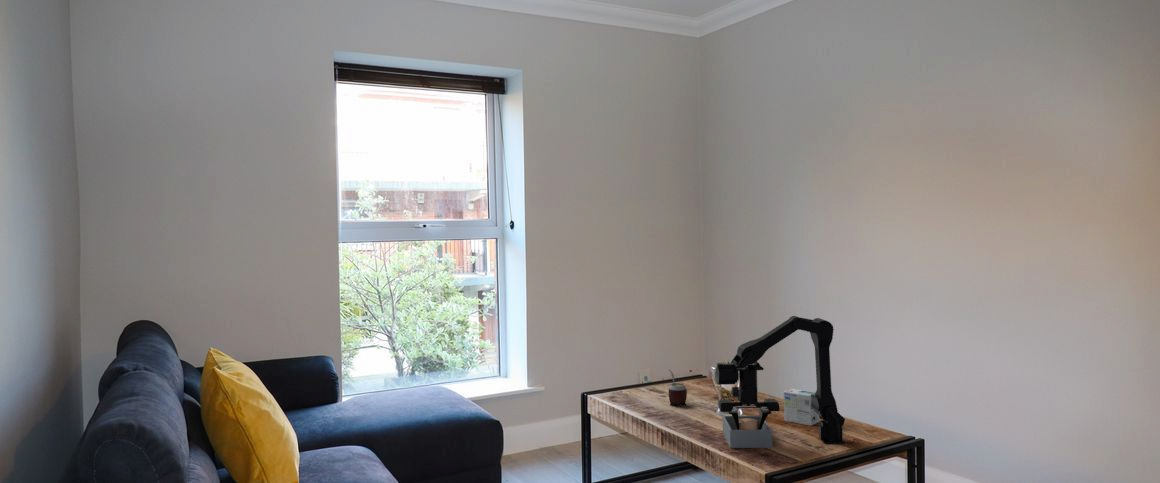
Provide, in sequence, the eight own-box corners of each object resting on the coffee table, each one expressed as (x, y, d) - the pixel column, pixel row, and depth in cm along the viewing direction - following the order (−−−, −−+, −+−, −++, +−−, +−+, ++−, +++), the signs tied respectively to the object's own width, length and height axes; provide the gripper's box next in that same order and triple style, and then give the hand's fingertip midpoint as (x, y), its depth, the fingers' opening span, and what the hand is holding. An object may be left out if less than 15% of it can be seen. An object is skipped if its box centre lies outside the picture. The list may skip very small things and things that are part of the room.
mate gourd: (685, 402, 300) (684, 364, 300) (688, 407, 292) (688, 369, 292) (666, 403, 300) (665, 365, 299) (669, 408, 292) (668, 369, 291)
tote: (761, 431, 258) (761, 415, 258) (772, 447, 241) (772, 430, 241) (722, 432, 259) (722, 415, 259) (730, 447, 242) (730, 430, 242)
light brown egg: (758, 444, 243) (758, 422, 243) (742, 443, 243) (742, 422, 243) (755, 439, 248) (755, 418, 248) (740, 439, 248) (740, 418, 248)
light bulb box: (820, 422, 269) (819, 391, 268) (811, 426, 264) (811, 395, 264) (792, 417, 276) (792, 387, 276) (783, 421, 271) (783, 391, 271)
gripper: (772, 377, 253) (772, 424, 253) (715, 378, 253) (716, 424, 254) (779, 385, 241) (780, 434, 242) (720, 386, 242) (721, 434, 243)
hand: (748, 431), depth 246 cm, fingers open, 6 cm apart
